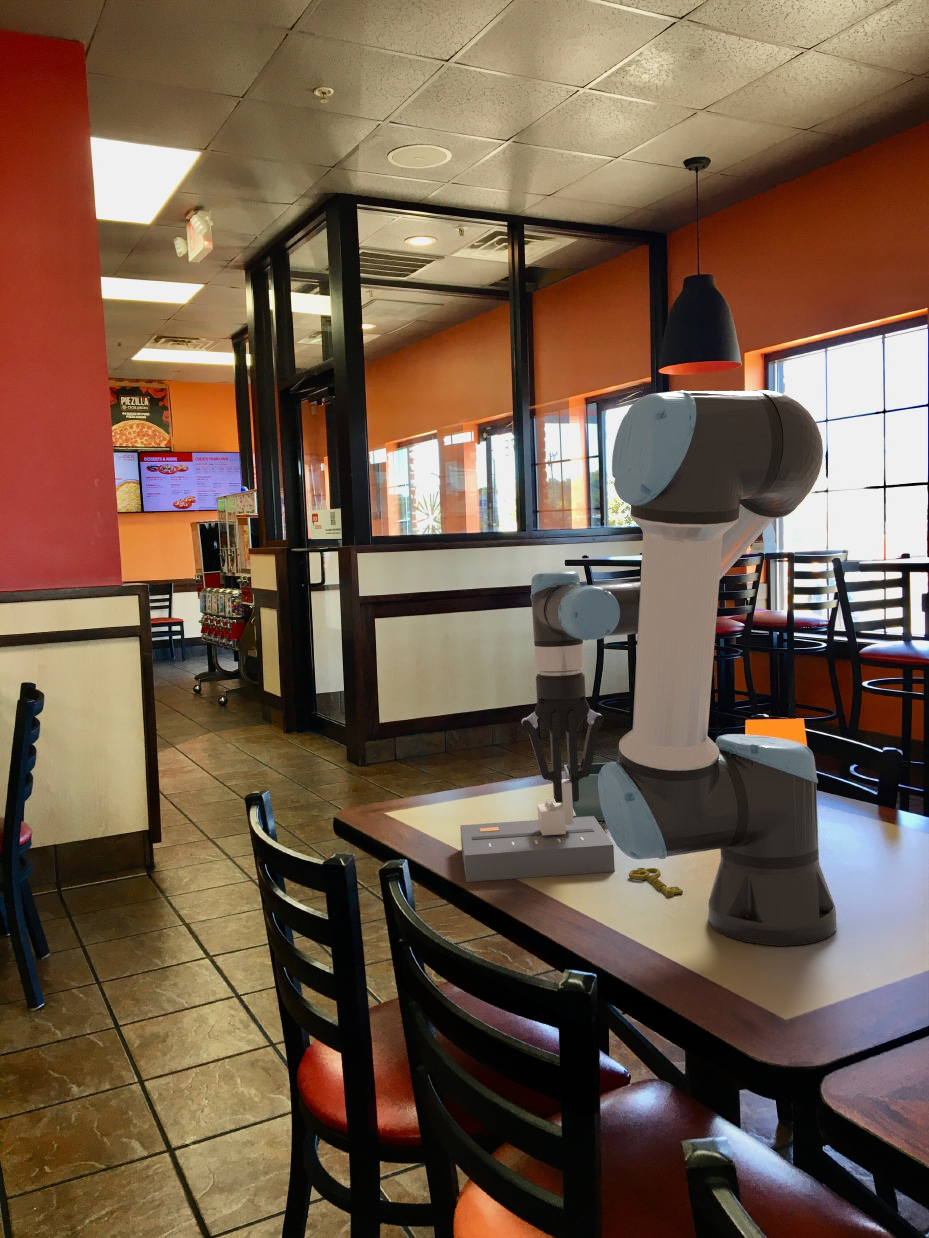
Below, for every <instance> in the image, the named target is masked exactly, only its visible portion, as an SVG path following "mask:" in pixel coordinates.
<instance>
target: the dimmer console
mask: <svg viewBox="0 0 929 1238" xmlns="http://www.w3.org/2000/svg"><path fill="white" fill-rule="evenodd" d="M573 822H574V824H573V825H565V827H566V834H556V835H542V833H541V831H540V829H539V827H538V819H533V820H532V819H531V820H530V819H529V820H516V821H515V820H514V821H503V822H491V823H490V822H489V823H474V824H460V825H459V827H460V843H461V845H460V846H461V853H462V861H463V869H464V876H465V882H466V883H470V882H472V883H473V882H483V881H484V882H485V881H487V882H488V881H496V880H498V881H499V880H507V879H508V880H512V879H515V880H516V879H526V878H529V879H530V878H540V877H542V878H543V877H554V876H568V875H580V874H581V875H582V874H583V875H584V874H585V875H586V874H595V873H596V874H598V873H611V872H615V870H616V869H615V868H616V867H615V852H614V851H615V850H614V843H613V842H612V840H611V839H610V838H609V836H608V835H607V832H606V831H604V829H603V827H602V826H601V825H600V823H599V821H597V820H596V818H595V817H594V816H587V817H577V816H576V817H574V816H573Z"/></svg>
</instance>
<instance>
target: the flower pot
mask: <svg viewBox="0 0 929 1238" xmlns="http://www.w3.org/2000/svg"><path fill="white" fill-rule="evenodd" d="M607 763H608V762H596V763H592V765H591V771H590V775H589V776H588V777H584V778H581V779H580V780H579V782H578V785H579V800H578V801H577V802H573V813H574V815H576V817H587V816H594V817H595V818H596V820H597V821H598V822H599V821H600V822H601V821H602V822H603V821H604V822H605V819H604V816H603V813H602V809H601V805H600V800H599V792H598V777H599V772H600V770H601V768H602V767H603V766H604V765H605V764H607ZM580 766H581V763H578V769H579V768H580ZM563 769H564V775H565V779H569V772H568V764H564V765H563Z"/></svg>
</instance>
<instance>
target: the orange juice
mask: <svg viewBox="0 0 929 1238" xmlns="http://www.w3.org/2000/svg"><path fill="white" fill-rule="evenodd" d="M745 735H759V736H768V737H775V738H781V739H786V740H791V741H795V742H798V743H801V744H803V745H805V746H807V747H808V742H807V735H806V726H805V719H804V718H779V719H777V718H776V719H770V718H769V719H745Z"/></svg>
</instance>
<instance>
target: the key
mask: <svg viewBox="0 0 929 1238" xmlns="http://www.w3.org/2000/svg"><path fill="white" fill-rule="evenodd" d="M650 873H653V874H650ZM628 877H629V878H630V879H632V880H633V879H635V880H643V881H647V882H648V883H649V884H651V885H652V886H653V887H654V888H655V889H656V890H658V892H662V893H663V894H664V895H666V898H672V897H674V896H675V895H679V894H683V893H684V891H683V890H682V888H680V887H679V886H670V887H668V886H667V885H666V884H665V883H664V881H661V880H660V879H659V878H660V877H661V870H660V869H659V868H656V867H647V868H645V867H638V868H636V869H633V870H630V872H629V873H628Z"/></svg>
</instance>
